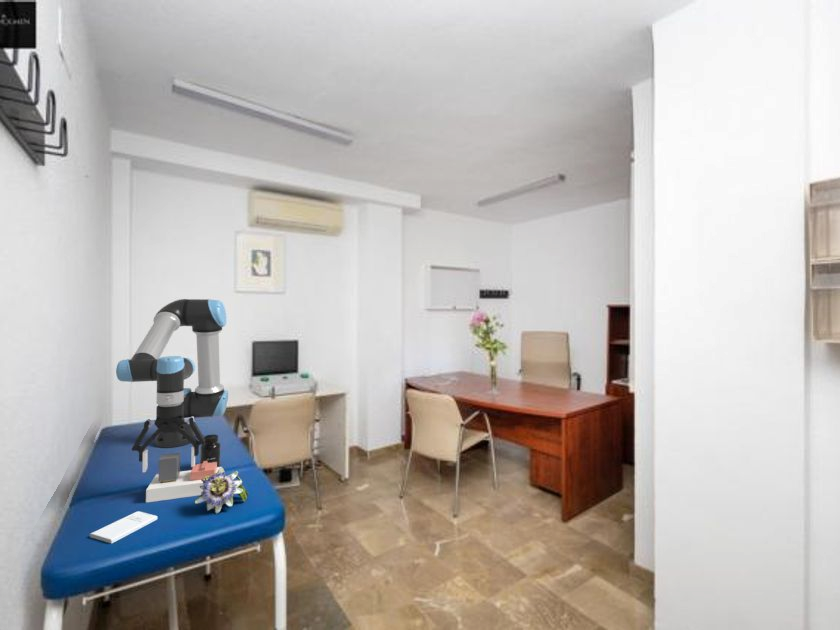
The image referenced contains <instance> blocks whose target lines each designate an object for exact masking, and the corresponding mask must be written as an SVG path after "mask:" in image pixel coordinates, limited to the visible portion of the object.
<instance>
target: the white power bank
mask: <svg viewBox="0 0 840 630" xmlns="http://www.w3.org/2000/svg"><path fill="white" fill-rule="evenodd" d="M157 520H158V516H157V515H155V514H151V513H147V512H144V511H140V510H139V511H135V512H133V513H131V514H129V515H127V516H124V517H123V518H119V519H118V520H115V521H114V522H112V523H110V524H108V525H105V526H104V527H101V528H100V529H97V530H95V531H93V532H91V533H89V538H91V539H94V540H95V539H96V540H98V541H101V542H105V543H107V544H113V543H115V542H117V541H119V540H121V539H123V538H125V537H127V536H129V535H130V534H132V533H134V532H137V531H138V530H140V529H142V528H144V527H146V526H148V525H149V524H151V523H153V522H155V521H157Z"/></svg>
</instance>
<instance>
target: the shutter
mask: <svg viewBox="0 0 840 630" xmlns="http://www.w3.org/2000/svg"><path fill="white" fill-rule="evenodd" d="M191 468H192V469H190V470H191V475H190V480H196V479H201V478H202V479H205V477H206V476H209V477H210V476H211V477H212V476H213V475H214V474H215V473H216V470H217V462H213V463H207V461H203V464H200V463H197V464H196V463H195V465H194V467H191Z"/></svg>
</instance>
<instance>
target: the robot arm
mask: <svg viewBox="0 0 840 630" xmlns="http://www.w3.org/2000/svg"><path fill="white" fill-rule="evenodd" d="M152 321H153V324H152V325H151V326H150V329H149V330H148V331H147V334H146V335H145V336H144V338H143V340H142V342H140V344H139V346H138V347H137V350H136V351H135V353H134V354H133V355H132V357H131V358H130V359H129V358H127V359H122V360H120V361H118V363H117V365H116V368H115V374H116V378H117V380H118V381H120V382H124V383H125V382H131V383H134V382H135V383H137V382H156V405H157V406H156V407H155V408H156V419H154V420H153V419H150V418H148V419H146V421H144V424H143V429H141V432H140V433H139V435H138V437H137V439H136V441H135V443H134V444H133V446H132V447H131V451H132V452H133V451H136V452H138V462H142V473H146V472H147V471H148V467H149V463H148V462H149V450H148V448H147V447H148V446H149V445H150V444H151V443H152V442H153V441H154V444H155V446H156V447H157V448H158V447H159V448H174V447H181V446H186V445H189V444H191V445H192V446H191V450H190V451H191V455H190V456H191V458H190V459H191V460H190V462H191V463H190V468H193V467H194V465H195V464H196V457H197V456H199V454H200V446H201V445H202V444H204V442H205V438H204V437H205V436H204V435H203V434H202V431H201V430H200V428H199V426H198V425H197V423H196V421H195V419H199V418H200V419H201V418H217V417H222V416H224V414H225V412H226V409H227V404H228V400H229V391H228V390H227V389H226V390H225V387H224V385H223V384H221V372H220V370H221V369H220V367H221V366H220V343H219V342H220V340H219V339H220V335H219V334H220V333H221V332H222V331H223V327H226V326H227V325H226V324H227V313H226V308H225V305H224V303H223V302H222V301H221V300H216V299H211V298H208V299H204V298H203V299H202V298H201V299H200V298H199V299H197V298H196V299H194V298H193V299H192V298H191V299H188V298H183V299H182V298H181V299H177V300H176V299H175V300H174V301H172V302H169V303H168V304H166V305H164V306H163V307H162V308H161V309H159V310H158V311H157V312H156V314H155V315H154V317H153V320H152ZM180 327H191V330H192V333H194V334H195V335H196V351H197V352H196V353H197V355H196V356H197V357H196V358H197V359H196V360H197V379H198V381H197V382H198V383H197V384H198V386H196V387H195V389H194V391H193V390H192V389H191V388H190V387H185V385H184V383H185V380H187V379H189V378H190V377H191V376H192V375H193V374H194V373H195V371H196V365H195V363H194V361H193V360H192V359H190V358H189V357H182V356H178V355H177V356H176V355H173V356H172V355H170V356H161V355H162V353H163V352H164V350H165V349H166V347H167V344H168V343H169V342H170V339H171V337H172V336H173V333H174V332H176V331H177V330H179V328H180ZM184 387H185V388H184ZM153 425H154V426H155V427H156V428H157V429H156V430H155V431H154V433H153V434H152V435H151V436H150V437H149V438H148V439H147V440H146V441H145V442H144V443H143V444H142V445H141V443H142V441H143V440H144V438H145V436H146V435H147V433H148V431H149V429H150V428H152V427H153ZM146 448H147V449H146Z"/></svg>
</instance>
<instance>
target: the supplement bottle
mask: <svg viewBox="0 0 840 630" xmlns="http://www.w3.org/2000/svg"><path fill="white" fill-rule="evenodd" d="M203 437H204V438H205V442H204V444H201V445H200V447H199V464H203V461H207V463H213V462H217V467H221V448H222V447H221V445H222V444H221V443H220V442H219V435H218V434H208V435H205V436H203Z"/></svg>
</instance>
